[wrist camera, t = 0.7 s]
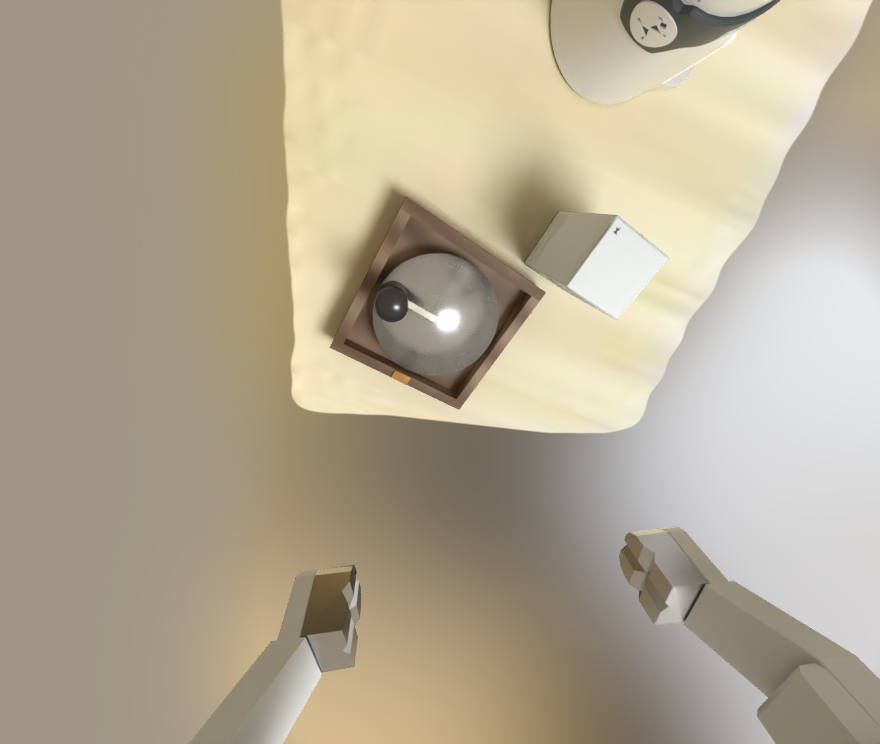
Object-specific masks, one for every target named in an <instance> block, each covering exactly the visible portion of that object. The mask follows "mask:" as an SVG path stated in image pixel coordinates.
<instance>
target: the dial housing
mask: <svg viewBox="0 0 880 744" xmlns="http://www.w3.org/2000/svg"><path fill="white" fill-rule="evenodd" d="M426 252H447V253H451V254H455V255H457V256H460V257H462V258H464V259H466V260H468V261H469V262H471V263H472V264H473V265H475V266H476V267H477V268H478V269H479V270H480V271H481V272H482V273H483V274H484V275H485V276H486V277H487V279H488V280H489V282H490V283H491V285H492V287H493V289H494V292H495V294H496V297H497V302H498V309H499V317H498V325H497V329H496V332H495V335H494V337H493V340H492V342H491V343H490V345H489V347H488V348H487V349H486V351H485V352H484V353H483V354H482V355H481V356H480V357H479V358H478V359H477V360H476V361H475V362H473V363H472V364H471V365H469V366H467V367H466V368H464V369H462V370H459V371H457V372H454V373H451V374H446V375H437V376H432V375H423V374H418V373H415V372H412V371H409V370H407V369H405V368H403V367H401V366H400V365H398V364H397V363H396V362H394V361H393V360H392V359H391V358H390V357H389V356H388V355H387V354H386V352H385V351H384V350H383V348H382V347H381V345H380V343H379V341H378V339H377V337H376V334H375V330H374V325H373V307H374V302H375V298H376V295H377V292H378V290H379V287H380V285H381V283H382V282H383V280H384V279H385V277H386V276H387V275H388V273H389V272H390V271H391V270H392V269H393V268H394V267H395V266H397V265H398V264H399V263H401V262H402V261H404V260H405V259H407V258H409V257H412V256H414V255H417V254H420V253H426ZM545 293H546V292H544V291H543V290H542V289H540V288H539V287H537V286H536V285H534V284H533V283H531V282H530V281H528V280H527V279H525V278H524V277H523V276H521V275H520V274H518V273H517V272H515V271H514V270H512V269H511V268H509V267H508V266H506V265H505V264H504V263H502V262H501V261H499V260H498V259H496V258H495V257H493V256H492V255H490V254H489V253H487V252H486V251H485V250H483V249H482V248H480V247H479V246H477V245H476V244H474V243H473V242H471V241H470V240H468V239H467V238H466V237H464V236H463V235H461V234H460V233H458V232H457V231H455V230H454V229H452V228H451V227H449V226H448V225H447V224H445V223H444V222H442V221H441V220H439V219H438V218H436V217H435V216H433V215H432V214H430V213H429V212H428V211H426V210H425V209H423V208H422V207H420V206H419V205H417V204H416V203H414V202H413V201H411V200H410V199H409V198H407V197H406V198H405V200H404V202H403V204H402V206H401V208H400V210H399V212H398V214H397V216H396V218H395V220H394V222H393V224H392V226H391V228H390V230H389V232H388V234H387V236H386V238H385V240H384V241H383V243H382V245H381V247H380V249H379V251H378V253H377V255H376V257H375V259H374V261H373V263H372V265H371V267H370V269H369V271H368V273H367V275H366V277H365V279H364V281H363V283H362V285H361V287H360V289H359V291H358V293H357V295H356V297H355V298H354V300H353V302H352V304H351V306H350V308H349V310H348V312H347V314H346V316H345V318H344V320H343V322H342V324H341V326H340V328H339V330H338V332H337V334H336V336H335V338H334V340H333V342H332V344H331V346H330V348H332V349H334V350H336V351H338V352H340V353H342V354H344V355H346V356H348V357H350V358H353V359H355V360H357V361H359V362H361V363H363V364H365V365H367V366H369V367H371V368H373V369H375V370H377V371H380V372H382V373H384V374H386V375H388V376H390V377H391V378H393V379H395V380H398V381H400V382H402V383H404V384H406V385H409V386H411V387H413V388H415V389H417V390H419V391H421V392H423V393H425V394H427V395H429V396H432V397H434V398H436V399H438V400H440V401H442V402H444V403H446V404H448V405H450V406H452V407H454V408H457V409H460V408H461V406H462V405H463V404H464V402H465V401H466V400H467V398H468V397H469V396H470V394H471V393H472V392H473V390H474V389H475V387H476V386H477V385H478V383H479V382H480V381H481V379H482V378H483V377H484V375H485V374H486V373H487V371H488V370H489V369H490V367H491V366H492V365H493V363H494V362H495V360H496V359H497V358H498V356H499V355H500V354H501V352H502V351H503V350H504V348H505V347H506V346H507V344H508V343H509V342H510V340H511V339H512V338H513V336H514V335H515V334H516V332H517V331H518V329H519V328H520V327H521V325H522V324H523V323H524V321H525V320H526V319H527V317H528V316H529V315H530V313H531V312H532V311H533V309H534V308H535V307H536V305H537V304H538V302H539V301H540V300H541V298H542V297H543V296H544V294H545Z"/></svg>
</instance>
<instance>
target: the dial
mask: <svg viewBox="0 0 880 744" xmlns="http://www.w3.org/2000/svg"><path fill="white" fill-rule="evenodd" d="M498 317H499V309H498V302H497V297H496V294H495V292H494V289H493V287H492V285H491V283H490V282H489V280H488V279H487V277H486V276H485V275H484V274H483V273H482V272H481V271H480V270H479V269H478V268H477V267H476V266H475V265H473V264H472V263H471V262H469V261H468V260H466V259H464V258H462V257H460V256H457V255H455V254H451V253H447V252H426V253H420V254H417V255H414V256H412V257H409V258H407V259H405V260H404V261H402V262H401V263H399V264H398V265H397V266H395V267H394V268H393V269H392V270H391V271H390V272H389V273H388V275H387V276H386V277H385V279H384V280H383V282H382V283H381V285H380V287H379V290H378V292H377V295H376V298H375V302H374V307H373V325H374V330H375V334H376V337H377V339H378V341H379V343H380V345H381V347H382V348H383V350H384V351H385V352H386V354H387V355H388V356H389V357H390V358H391V359H392V360H393V361H394V362H396V363H397V364H398V365H400V366H401V367H403V368H405V369H407V370H409V371H412V372H415V373H418V374H423V375H432V376H437V375H446V374H451V373H454V372H457V371H459V370H462V369H464V368H466V367H467V366H469V365H471V364H472V363H473V362H475V361H476V360H477V359H478V358H479V357H480V356H481V355H482V354H483V353H484V352H485V351H486V349H487V348H488V347H489V345H490V343H491V342H492V340H493V337H494V335H495V332H496V329H497V325H498Z"/></svg>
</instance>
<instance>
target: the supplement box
mask: <svg viewBox="0 0 880 744" xmlns="http://www.w3.org/2000/svg"><path fill="white" fill-rule="evenodd" d="M667 260H668V256H667V255H666V254H665V253H663V252H662V251H661V250H660V249H658V248H657V247H656V246H655V245H653V244H652V243H651V242H650V241H648V240H647V239H646V238H645V237H644V236H643V235H642V234H640V233H639V232H637V231H636V230H635V229H634V228H632V227H631V226H630V225H629V224H627V223H626V222H625V221H624V220H622V219H621V218H620V217H619V216H618V215H608V214H593V213H578V212H564V211H559V212H558V214H557V215H556V217H555V218H554V219H553V221H552V222H551V224H550V226H549V227H548V229H547V230H546V231H545V233H544V234H543V236H542V237H541V239H540V240H539V242H538V243H537V245H536V247H535V248H534V249H533V251H532V253H531V254H530V255H529V257H528V259H527V260H526V262H525V265H527V266H528V267H530V268H531V269H533V270H534V271H536V272H537V273H539V274H540V275H542V276H543V277H545V278H546V279H548V280H549V281H551V282H552V283H554V284H555V285H557V286H558V287H560V288H562V289H563V290H564V291H566V292H568V293H570V294H571V295H573V296H575V297H576V298H578V299H580V300H582V301H583V302H585V303H587V304H589V305H591V306H592V307H594V308H596V309H598V310H600V311H601V312H603V313H605V314H607V315H609V316H610V317H612V318H614V319H616V320H617V319H618V318H619V317H620V316H621V315H622V314H623V312H624V311H625V310H626V309H627V308H628V306H629V305H630V304H631V303H632V301H633V300H634V299H635V298H636V297H637V295H638V294H639V293H640V292H641V291H642V289H643V288H644V287H645V286H646V284H647V283H648V282H649V281H650V280H651V279H652V277H653V276H654V275H655V274H656V273H657V272H658V270H659V269H660V268H661V267H662V266H663V265H664V263H665V262H666V261H667Z"/></svg>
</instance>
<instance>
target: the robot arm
mask: <svg viewBox="0 0 880 744" xmlns="http://www.w3.org/2000/svg"><path fill="white" fill-rule="evenodd" d="M779 1H780V0H552V5H551V39H552V45H553V51H554V55H555V58H556V61H557V64H558V67H559V69H560V71H561V73H562V75H563V77H564V78H565V80H566V81H567V83H568V84H569V85H570V87H571V88H572V89H573V90H574V91H575V92H576V93H578V94H579V95H580V96H582V97H583V98H585V99H587V100H589V101H591V102H594V103H598V104H617V103H621V102H625V101H628V100H630V99H632V98H634V97H636V96H638V95H640V94H642V93H644V92H646V91H648V90H651V89H670V88H674V87H676V86H678V85H680V84H681V83H683V82H684V81H685V80H686V79H687V78H688V77H689V75H690V74H691V72H692V70H693V68H694V66H695V64H697V63H699V62H700V61H702V60H704V59H705V58H707V57H708V56H710V55H712V54H713V53H715V52H717V51H718V50H720V49H721V48H723V47H725V46H726V45H727V44H729V43H730V42H731V41H732V40H733V39H734V38H735V37H736V35H737V30H739V29H740V28H742V27H744V26H746V25H747V24H748V23H750V22H752V21H753V20H755V19H756V17H758V16H759V15H761V14H763V13H764V12H766V11H767V10H769V9H770V8H771V7H773V6H774V5H775V4H777V3H778V2H779ZM625 542H626V543H627V545H626V546H625V547H624V548H622V549H621V552H620V556H619V558H620V565H621V568H622V571H623V573H624V575H625V577H626V579H627V581H628V582H629V584H630V585H632V586H633V587H634V588H636V589H637V590H639V601H640V603H641V604H642V606H643V608H644V609H645V611H646V613H647V614H648V616H649V617H650V619H651V621H652V622H653V624H654V625H663V624H672V623H682V622H684V625H685V626H686V627H687V628H689V629H690V630H691V631H692V632H693V633H694V634H695V635H697V636H698V637H699V638H700V639H701V640H702V641H704V642H705V643H706V644H707V645H708V646H709V647H710V648H712V649H713V650H714V651H715V652H716V653H717V654H718V655H720V656H721V657H722V658H723V659H724V660H725V661H727V662H728V663H729V664H730V665H731V666H733V667H734V668H735V669H736V670H737V671H738V672H739V673H740V674H742V675H743V676H744V677H745V678H746V679H748V680H749V681H750V682H751V683H752V684H753V685H754V686H755V687H757V688H758V689H759V690H760V691H761V692H762V693H764V694H765V695H766V696H767V697H768V699H767V700H766V701H765V702H764V703H763V704H762V705H761V706H760V707H759V708H758V712H757V717H758V718H759V720H760V721H761V723H762V724H763V726H764V727H765V729H766V730H767V731H768V733H769V734H770V736H771V737H772V739H773V740H774V742H775V743H776V744H880V679H879V678H878V677H877V676H876V675H875V674H874V673H873V672H872V671H871V670H870V669H869V668H868V667H867V666H866V665H865V664H864V663H863V662H862V661H861V660H860V659H859V658H858V657H856V656H855V655H854V654H852V653H851V652H849V651H848V650H846V649H844V648H843V647H841V646H839V645H838V644H836V643H834V642H833V641H831V640H829V639H828V638H826V637H825V636H823V635H821V634H820V633H818V632H816V631H815V630H813V629H812V628H810V627H808V626H807V625H805V624H803V623H802V622H800V621H798V620H797V619H795V618H794V617H792V616H790V615H789V614H787V613H785V612H784V611H782V610H780V609H779V608H777V607H775V606H774V605H772V604H771V603H769V602H767V601H766V600H764V599H762V598H761V597H759V596H758V595H756V594H754V593H752V592H751V591H749V590H748V589H746V588H745V587H743V586H741V585H740V584H738V583H736V582H735V581H728V580H727V579H726V578H725V577H724V575H723V574H722V573H721V572H720V571H719V570H718V569H717V568H716V566H715V565H714V564H713V563H712V562H711V561H710V559H709V558H708V557H707V556H706V555H705V554H704V553H703V551H702V550H701V549H700V548H699V547H698V546H697V545H696V543H695V542H694V541H693V540H692V539H691V538H690V536H689V535H688V534H687V533H686V532H685V531H684V530H683V529H681V528H680V527H669V528H661V529H660V528H658V529H650V530H643V531H635V532H630V533H628V534H626V537H625ZM356 574H357V571H356V568H355V565H349V566H340V567H333V568H323V569H312V570H304V571H299V573H298V575H297V577H296V578H295V582H294V585H293V589H292V592H291V595H290V599H289V602H288V606H287V609H286V612H285V616H284V619H283V622H282V626H281V629H280V632H279V636H278V640H276V641H271V642H270V644H269V645H268V646H267V647H266V649H265V650H264V651H263V652H262V653H261V655H260V656H259V657H258V658H257V660H256V661H255V662H254V663H253V665H252V666H251V667H250V668H249V670H248V671H247V672H246V673H245V675H244V676H243V677H242V678H241V680H240V681H239V682H238V683H237V684H236V686H235V687H234V688H233V689H232V691H231V692H230V693H229V694H228V696H227V697H226V698H225V699H224V701H223V702H222V703H221V704H220V706H219V707H218V708H217V709H216V711H215V712H214V713H213V714H212V715H211V717H210V718H209V719H208V720H207V722H206V723H205V724H204V725H203V727H202V728H201V729H200V730H199V732H198V733H197V734H196V735H195V737H194V738H193V739H192V740H191V742H190V743H189V744H283V742H284V740H285V739H286V737H287V735H288V733H289V732H290V730H291V728H292V726H293V725H294V723H295V721H296V719H297V718H298V716H299V714H300V712H301V711H302V709H303V707H304V705H305V704H306V702H307V700H308V698H309V697H310V695H311V693H312V691H313V690H314V688H315V686H316V684H317V683H318V681H319V679H320V677H321V676H322V674H321V672H327V671H333V670H338V669H345V668H350V667H354V665H355V657H356V647H357V639H358V636H357V632H356V629H355V625H356V623H357V622H358V620H359V619H360V611H361V587H360V583H359V581H358V580H356Z"/></svg>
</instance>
